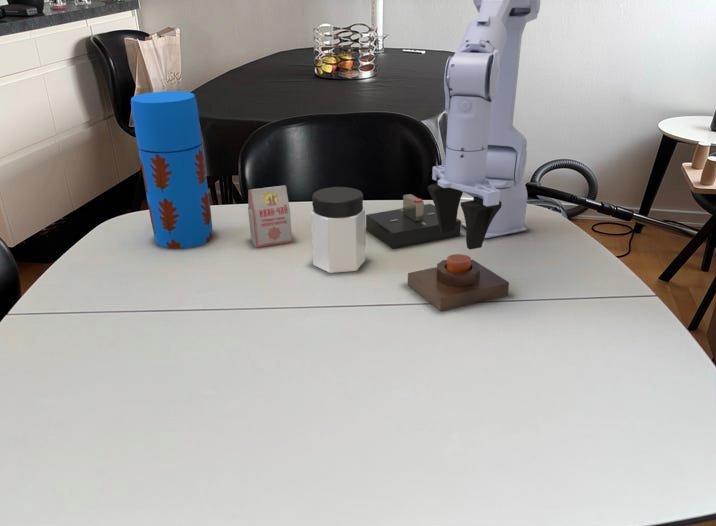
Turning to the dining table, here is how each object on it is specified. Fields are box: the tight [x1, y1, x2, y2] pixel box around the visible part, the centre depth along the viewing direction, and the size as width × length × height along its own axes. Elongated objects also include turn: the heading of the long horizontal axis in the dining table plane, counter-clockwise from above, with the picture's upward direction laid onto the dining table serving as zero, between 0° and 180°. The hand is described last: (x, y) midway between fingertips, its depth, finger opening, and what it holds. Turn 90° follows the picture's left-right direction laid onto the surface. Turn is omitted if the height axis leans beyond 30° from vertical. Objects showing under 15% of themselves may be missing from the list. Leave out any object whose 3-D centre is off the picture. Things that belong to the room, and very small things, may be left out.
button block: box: [407, 259, 510, 312], centre depth 105 cm, size 12×10×4 cm
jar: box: [310, 186, 366, 274], centre depth 113 cm, size 9×8×12 cm
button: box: [446, 253, 472, 272], centre depth 104 cm, size 4×4×2 cm
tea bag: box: [247, 185, 293, 248], centre depth 123 cm, size 4×7×10 cm, turn 111°
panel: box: [365, 203, 462, 250], centre depth 127 cm, size 14×11×3 cm
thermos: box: [130, 90, 214, 250], centre depth 121 cm, size 11×11×25 cm
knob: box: [402, 193, 425, 222], centre depth 125 cm, size 5×2×4 cm, turn 24°
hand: (460, 239), depth 102 cm, fingers open, 7 cm apart
